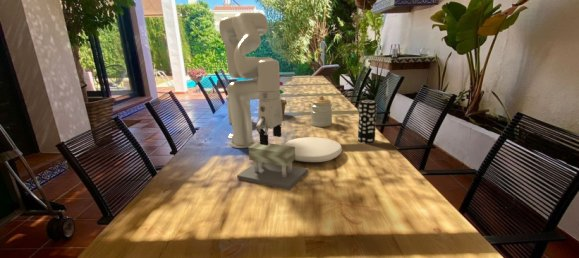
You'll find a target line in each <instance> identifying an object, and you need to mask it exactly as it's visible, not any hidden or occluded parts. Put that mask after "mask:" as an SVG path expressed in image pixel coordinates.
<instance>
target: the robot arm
mask: <svg viewBox="0 0 579 258" xmlns="http://www.w3.org/2000/svg"><path fill="white" fill-rule="evenodd" d="M218 28H219V33H220V38H221V39H222V42H223V44H224V47H225V52H226V62H227V69H228V70H227V71H228V74H229V76H230V77H231V78H232V79H233V78H234V79H243V80H236V81H232V82H230V83H229V84H228V85H227V88H226V90H227V91H226V92H227V95H228V96H229V101H230V106H231V117H232V124H231V126H232V134H231V133H229V134H228V136H227V139H228V140H231V142H230V146H231V147H233V148H235V149H247V148H248V147H250V146H252V145H253V144H255V143H257V141H256V139H254V138H253V124H252V121H253V120H252V111H251V106H250V107H249V106H248V105H247V104H246V103H245V101H247V100H250V101H254V100H258V122H257V123H256V125H255V127H256V130H257V133H258V135H259V142H260V144H261V145H268V143H269V134H268V131H269V129H270V130H271V129H272V135H273V137H277V138H280V137H282V123H283V121H284V120H283V117H284V116H283V113H282V105H281V94H280V90H281V87H280V86H281V85H280V82H281V81H280V79H281V77H279V75H280V63H279V60H278V59H275V58H272V57H270V56H264V57H263V56H260V57H259V56H258V57H257V56H246V55H248V54H250V53H252V52H254V51H256V50H257V49H258V48H259V47H260V45H261V43H262V38H261V36H263V35H265V34H266V33H267V32H268V29H269V22H268V19H267V17H266V15H264V14H263V13H262V12H239V13H237V14H235V15H234V16H228V17H227V16H226V17H224V18H222V19H220V21H219V27H218ZM282 116H283V117H282Z"/></svg>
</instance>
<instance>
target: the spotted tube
mask: <svg viewBox="0 0 579 258" xmlns="http://www.w3.org/2000/svg"><path fill="white" fill-rule="evenodd" d="M377 108H378V100H377V101H376V100H373V99H363V100H359V102H358V127H357V142H359V143H361V144H374V143H375V142H376V127H377V125H376V124H377V110H378V109H377Z"/></svg>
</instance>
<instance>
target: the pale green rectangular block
mask: <svg viewBox="0 0 579 258" xmlns="http://www.w3.org/2000/svg"><path fill="white" fill-rule="evenodd" d="M248 160H250V161H253V162H254V161H259V162H265V163H271V164H277V165H282V166H288V165H289V164H290V163H292V164H293V162H294V161H296V160H295V147H292V146H285V145H283V144H278V143H277V144H276V143H272V142H271V143H270V142H268V145H261V144H260V141H256V143H255V144H253V145H252V146H250V147H248Z"/></svg>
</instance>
